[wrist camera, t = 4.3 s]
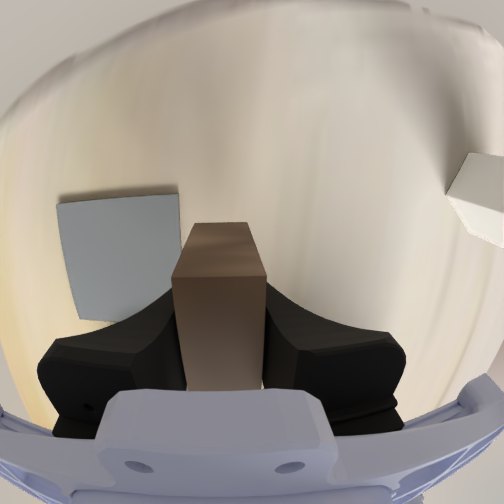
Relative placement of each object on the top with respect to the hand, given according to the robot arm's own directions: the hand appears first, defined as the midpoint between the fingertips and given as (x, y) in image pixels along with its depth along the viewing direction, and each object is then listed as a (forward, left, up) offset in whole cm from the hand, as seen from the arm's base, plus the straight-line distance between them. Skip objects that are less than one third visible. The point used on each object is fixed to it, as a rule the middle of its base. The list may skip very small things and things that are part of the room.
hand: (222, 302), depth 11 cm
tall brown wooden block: (0, 0, -2) cm, 2 cm away
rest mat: (+8, +1, -9) cm, 12 cm away
